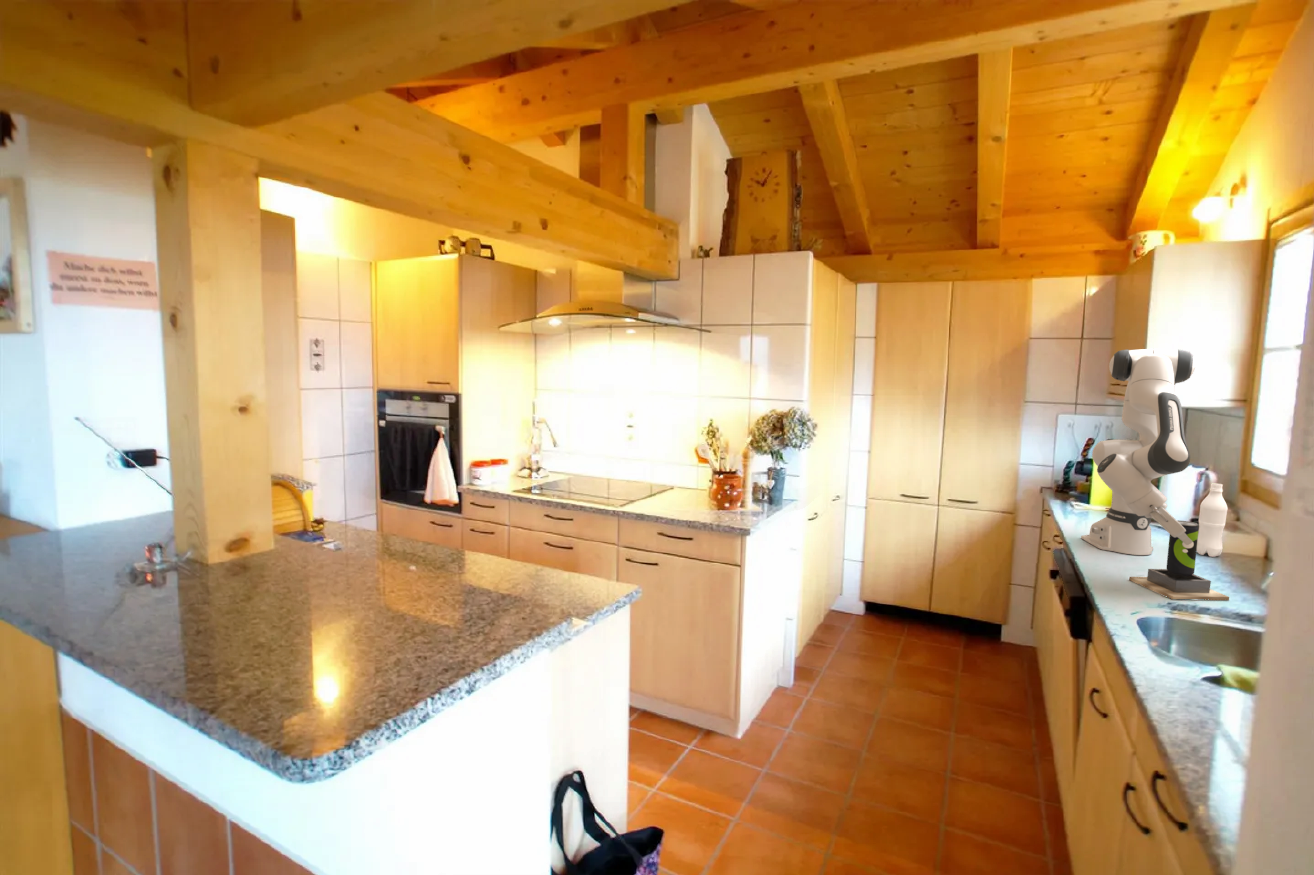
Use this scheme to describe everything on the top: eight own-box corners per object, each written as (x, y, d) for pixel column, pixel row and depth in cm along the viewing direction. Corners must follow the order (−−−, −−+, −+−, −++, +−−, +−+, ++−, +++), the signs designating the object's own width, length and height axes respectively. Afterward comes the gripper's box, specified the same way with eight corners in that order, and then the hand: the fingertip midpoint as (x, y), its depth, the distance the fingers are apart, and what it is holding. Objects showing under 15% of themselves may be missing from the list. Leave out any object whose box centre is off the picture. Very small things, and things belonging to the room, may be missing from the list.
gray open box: (1146, 580, 189) (1148, 568, 188) (1179, 580, 189) (1181, 569, 188) (1174, 592, 179) (1176, 580, 178) (1209, 592, 179) (1210, 581, 178)
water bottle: (1227, 557, 215) (1236, 486, 212) (1207, 558, 215) (1216, 486, 212) (1207, 551, 222) (1217, 482, 219) (1188, 551, 222) (1197, 481, 219)
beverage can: (1167, 568, 187) (1172, 519, 186) (1195, 573, 183) (1200, 522, 181) (1164, 573, 183) (1169, 522, 181) (1192, 578, 179) (1197, 526, 177)
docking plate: (1129, 579, 192) (1129, 576, 191) (1180, 580, 192) (1180, 577, 192) (1172, 599, 176) (1173, 596, 176) (1228, 600, 176) (1229, 596, 176)
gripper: (1166, 502, 175) (1207, 542, 171) (1150, 490, 192) (1187, 525, 189) (1144, 516, 177) (1184, 555, 174) (1131, 502, 195) (1167, 538, 192)
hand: (1186, 539), depth 182 cm, fingers closed on beverage can, 6 cm apart
